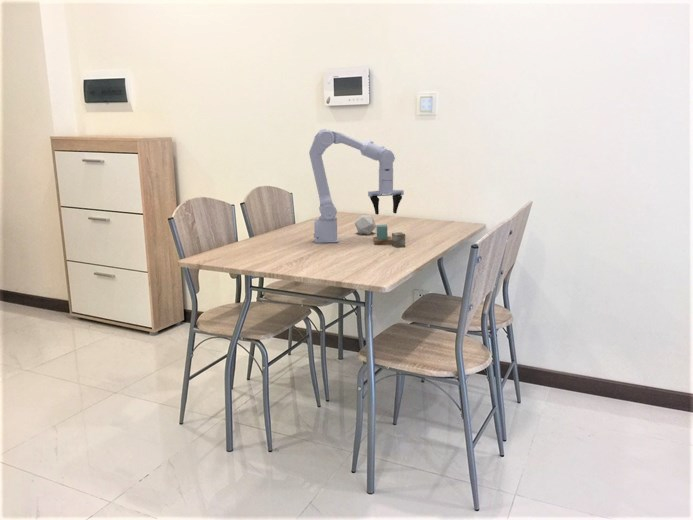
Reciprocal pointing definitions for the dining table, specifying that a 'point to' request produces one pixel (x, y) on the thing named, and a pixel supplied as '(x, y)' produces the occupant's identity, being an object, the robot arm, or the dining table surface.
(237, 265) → the dining table surface
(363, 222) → the die
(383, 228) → the teal block
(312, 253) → the dining table surface
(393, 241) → the grey block
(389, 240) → the walnut slab
